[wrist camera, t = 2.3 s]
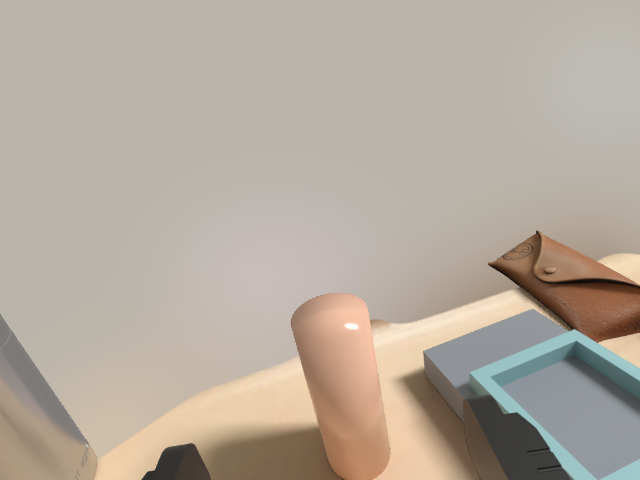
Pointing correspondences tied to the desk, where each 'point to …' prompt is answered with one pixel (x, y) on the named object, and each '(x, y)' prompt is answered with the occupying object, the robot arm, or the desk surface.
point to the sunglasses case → (574, 287)
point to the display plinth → (550, 390)
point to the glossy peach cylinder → (343, 383)
